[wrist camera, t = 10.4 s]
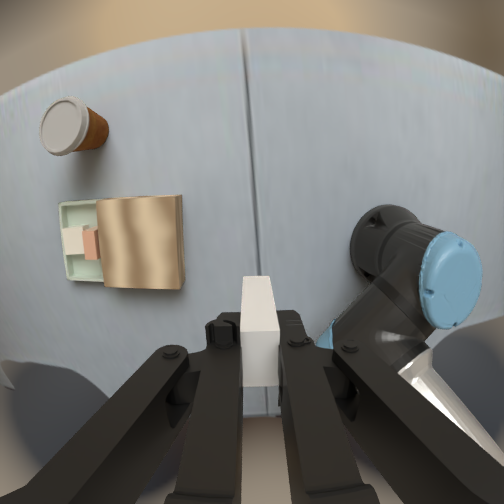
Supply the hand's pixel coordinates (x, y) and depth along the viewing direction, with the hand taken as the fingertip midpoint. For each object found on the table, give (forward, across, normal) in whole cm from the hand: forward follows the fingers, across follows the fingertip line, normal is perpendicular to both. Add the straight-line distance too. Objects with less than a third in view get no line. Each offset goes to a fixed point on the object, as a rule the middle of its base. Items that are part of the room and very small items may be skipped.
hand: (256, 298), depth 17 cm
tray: (+34, +31, +2) cm, 46 cm away
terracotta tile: (+31, +26, +2) cm, 41 cm away
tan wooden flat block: (+34, +19, +3) cm, 39 cm away
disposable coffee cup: (+34, +28, -18) cm, 47 cm away
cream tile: (+31, +33, +2) cm, 45 cm away
